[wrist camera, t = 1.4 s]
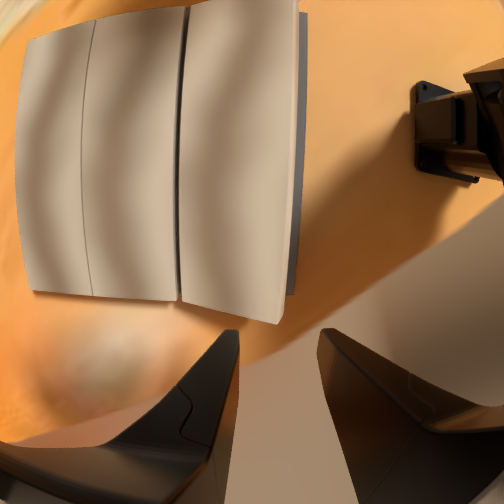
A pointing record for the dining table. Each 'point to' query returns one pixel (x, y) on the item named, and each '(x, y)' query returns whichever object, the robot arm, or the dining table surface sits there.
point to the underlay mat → (298, 154)
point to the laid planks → (101, 156)
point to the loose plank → (238, 155)
